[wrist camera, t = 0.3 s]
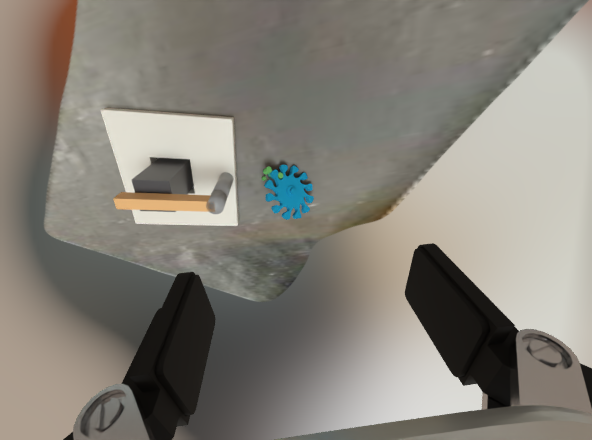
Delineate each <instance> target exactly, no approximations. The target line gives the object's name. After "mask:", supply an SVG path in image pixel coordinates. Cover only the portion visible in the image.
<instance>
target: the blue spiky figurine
mask: <svg viewBox="0 0 592 440" xmlns="http://www.w3.org/2000/svg"><path fill="white" fill-rule="evenodd" d="M279 169H280V173H278V171H277V170H273V171H272V169H271V167H267V168H265V169H264V170H263V173H264V174H265V176H263V177H262V180H263V181H264V180H266V179H267V180H268V181H266V183H265V185H264V186H265V187H266V188H269V189H272V190H273V191H274V192H275V193H276V195H275V197H274V196H273V194H271V193H269V194H266V201H268V202H269V201H272V200H276V201H279V202H280V206H278V205H275V206H272V210H273V212H274V213H278V212H279V211H280V210H281V208H283V207H286V208H287V212H285V213H283V214H282V217H283V218H284V219H286V220H287V219H289V218H290V214H291V210H292V209H293V208H294V209H295V213H294V214H293V218H294V219H297V218H301V214H300V210H299V208H300V204H301V205H302V213H306V212H308V211H309V210H310V209H309V207H308V206H307V205H306V204H305V201H304V197H305V198H306V202H307V203H312V201H313V199H314V198H313V196H310V195H308V194H306V192H305V191H304V188H305V189H306V190H307V191H311V190H312V184H307V185H304V184H302V183H301V182H300V180H306V179H307V175H306V173H302V174H300V176H299V177H298V178H295V177H294V176H293V174H294V173H296V172H298V170H299V169H298V168H297V167H296V166H292V167H291V168H290V174H289V175H288V176H286V174H285V172H286V171H287V169H288V166H287V165H281V166H280V167H279Z"/></svg>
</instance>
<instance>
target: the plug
mask: <svg viewBox="0 0 592 440" xmlns="http://www.w3.org/2000/svg"><path fill="white" fill-rule="evenodd" d="M132 184H133V187H134V191H135V193H159V194H186V195H187V194H188V193H189V192H190V190H191V189H192V187H193V186H194V185H193V178H192V171H191V165H190V159H174V158H159V159H157V160H156V161H155V162H154V163H152V164H151V165H150V166H148V167H147V168H146V169H144V170H143V171H142V172H141V173H139V174H138V175H137V176H135V177H134V178H133V179H132ZM140 211H157V212H176V211H166V210H140Z"/></svg>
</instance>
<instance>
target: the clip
mask: <svg viewBox="0 0 592 440" xmlns="http://www.w3.org/2000/svg"><path fill="white" fill-rule="evenodd" d="M113 199H114V202H115V205H116V208H117V209H130V210H166V211H201V212H210V213H212V214H220V213H221V212H222V211H223V209H224V207H225V204H226V201H227V196H226V194H225V193H224V192H223V191H220V190H216V191H213V192H212V193H211V195H186V194H159V193H131V192H121V193H120V194H118V195H117V196H116V197H115V198H113Z"/></svg>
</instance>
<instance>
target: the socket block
mask: <svg viewBox="0 0 592 440" xmlns="http://www.w3.org/2000/svg"><path fill="white" fill-rule="evenodd" d="M101 113H102V116H103V120H104V123H105V126H106V129H107V132H108V136H109V139H110V142H111V145H112V148H113V152H114V155H115V158H116V161H117V164H118V168H119V171H120V174H121V177H122V180H123V184H124V187H125V190H126V192H131V193H135V191H134V187H133V184H132V179H133V178H134V177H135V176H137V175H138V174H139V173H141V172H142V171H143V170H144V169H146V168H147V167H148V166H150V165H151V164H152V163H154V162H155V161H156V158H155V157H157V158H176V159H190V163H191V170H192V176H193V183H194V189H191V190H190V192H189V193H188V194H187V195H211V193H212V192H213V191H216V190H220V191H223V192H224V193H225V194H226V196H227V201H226V204H225V207H224V209H223V211H222V212H221V213H220V214H212V213H210V212H201V211H176V212H157V211H140V210H132V212H133V216H134V219H135V222H136V224H171V225H218V226H238V222H239V215H238V194H237V173H236V152H235V131H234V117H224V116H211V115H197V114H184V113H170V112H157V111H143V110H130V109H116V108H105V109H101Z"/></svg>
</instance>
